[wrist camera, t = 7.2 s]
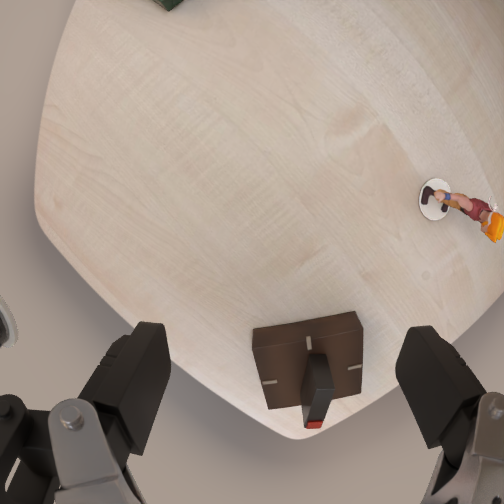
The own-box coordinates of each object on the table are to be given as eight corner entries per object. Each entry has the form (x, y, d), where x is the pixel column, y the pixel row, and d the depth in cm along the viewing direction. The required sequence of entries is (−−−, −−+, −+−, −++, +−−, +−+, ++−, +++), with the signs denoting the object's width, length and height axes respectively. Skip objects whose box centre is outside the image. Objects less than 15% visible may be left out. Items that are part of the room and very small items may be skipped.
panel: (268, 392, 31) (269, 412, 28) (252, 326, 27) (250, 346, 24) (354, 377, 30) (361, 396, 27) (354, 307, 26) (364, 325, 23)
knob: (309, 353, 25) (316, 391, 20) (326, 353, 25) (336, 390, 20) (299, 393, 27) (304, 430, 22) (315, 393, 27) (321, 429, 22)
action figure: (485, 203, 22) (548, 229, 13) (478, 229, 23) (538, 262, 14) (396, 164, 22) (462, 177, 13) (388, 196, 23) (449, 225, 14)
